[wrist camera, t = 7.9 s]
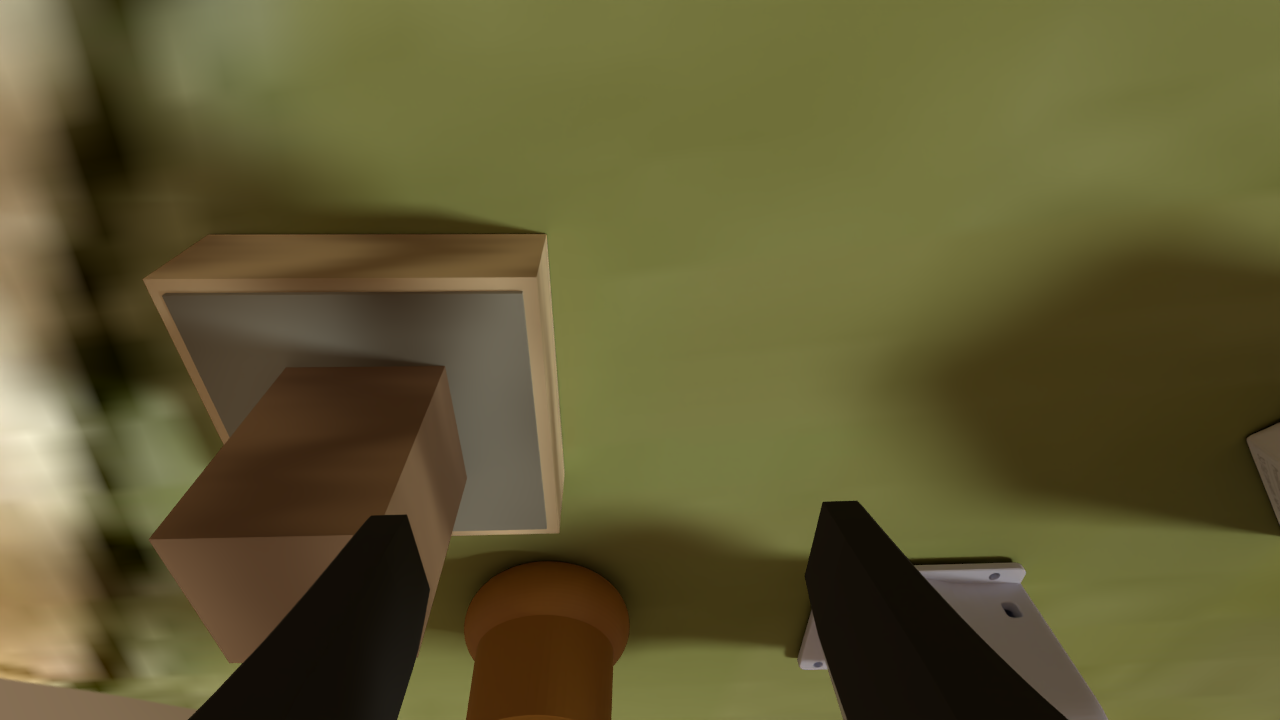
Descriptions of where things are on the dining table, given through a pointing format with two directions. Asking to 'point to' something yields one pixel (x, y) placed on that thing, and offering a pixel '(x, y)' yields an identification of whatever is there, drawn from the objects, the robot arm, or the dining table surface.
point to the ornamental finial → (545, 644)
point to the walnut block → (313, 492)
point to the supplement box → (1268, 461)
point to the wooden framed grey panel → (388, 341)
